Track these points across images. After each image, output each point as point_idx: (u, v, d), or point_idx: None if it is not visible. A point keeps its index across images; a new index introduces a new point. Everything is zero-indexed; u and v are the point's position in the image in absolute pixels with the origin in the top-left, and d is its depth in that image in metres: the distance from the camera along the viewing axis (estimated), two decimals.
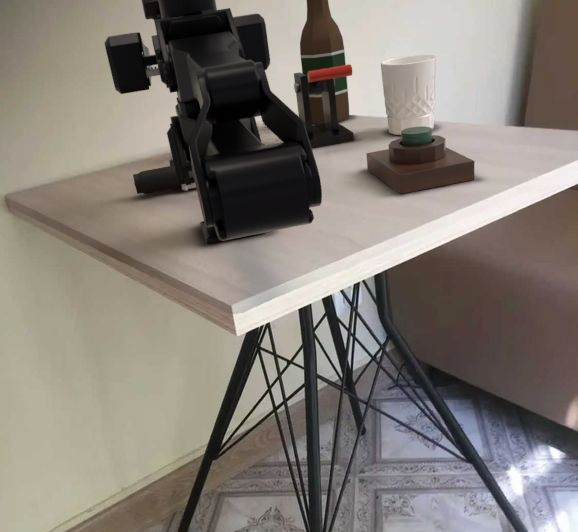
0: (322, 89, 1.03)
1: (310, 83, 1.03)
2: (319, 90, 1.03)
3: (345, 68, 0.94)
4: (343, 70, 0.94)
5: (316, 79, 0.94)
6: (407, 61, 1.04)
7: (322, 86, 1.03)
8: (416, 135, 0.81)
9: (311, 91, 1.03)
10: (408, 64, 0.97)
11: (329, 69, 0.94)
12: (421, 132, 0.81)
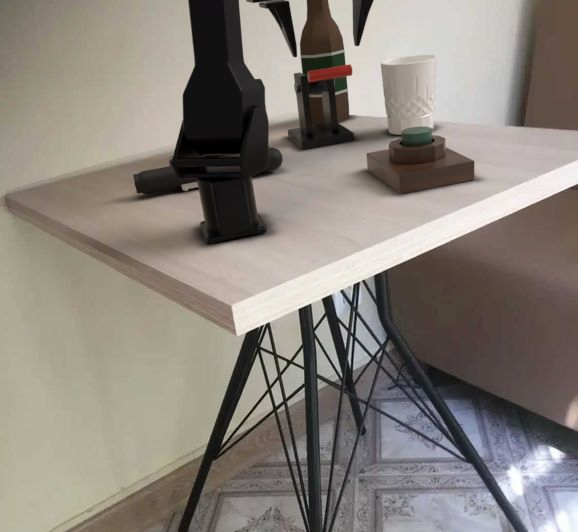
0: (322, 89, 1.03)
1: (310, 83, 1.03)
2: (319, 90, 1.03)
3: (345, 68, 0.94)
4: (343, 70, 0.94)
5: (316, 79, 0.94)
6: (407, 61, 1.04)
7: (322, 86, 1.03)
8: (416, 135, 0.81)
9: (311, 91, 1.03)
10: (408, 64, 0.97)
11: (329, 69, 0.94)
12: (421, 132, 0.81)
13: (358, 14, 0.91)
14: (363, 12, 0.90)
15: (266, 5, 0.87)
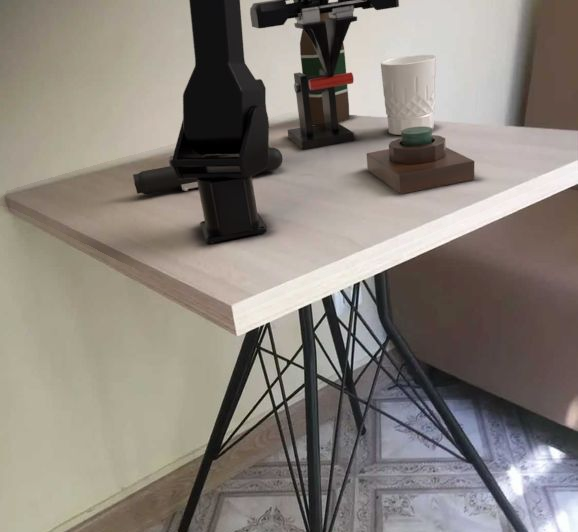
0: (322, 90, 1.03)
1: None
2: (319, 91, 1.03)
3: (346, 77, 0.95)
4: (344, 79, 0.95)
5: (317, 87, 0.94)
6: (407, 61, 1.04)
7: (322, 87, 1.03)
8: (416, 135, 0.81)
9: (311, 92, 1.03)
10: (408, 64, 0.97)
11: (330, 78, 0.94)
12: (421, 132, 0.81)
13: (332, 45, 0.92)
14: (337, 43, 0.91)
15: (303, 26, 0.89)
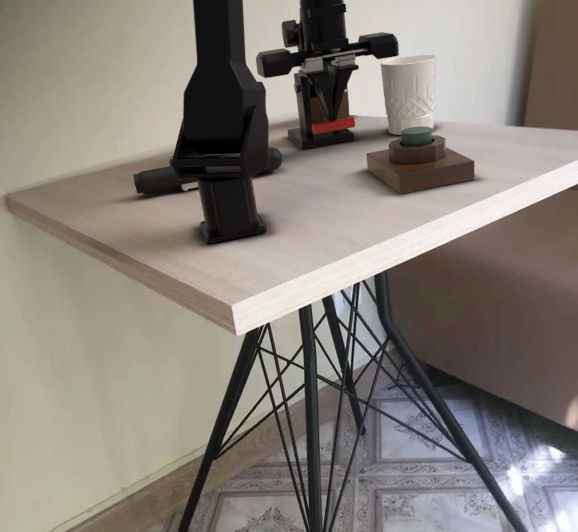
0: None
1: (311, 90, 1.03)
2: None
3: (348, 124, 0.98)
4: (346, 126, 0.99)
5: None
6: (407, 61, 1.04)
7: None
8: (416, 135, 0.81)
9: (310, 97, 1.04)
10: (408, 64, 0.97)
11: (333, 125, 0.98)
12: (421, 132, 0.81)
13: (334, 92, 0.96)
14: (340, 90, 0.95)
15: (307, 74, 0.92)
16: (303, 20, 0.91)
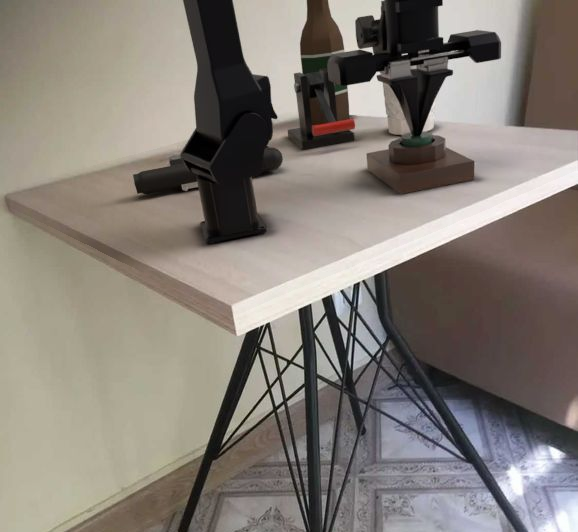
0: None
1: (311, 90, 1.03)
2: None
3: (348, 126, 0.99)
4: (346, 128, 0.99)
5: None
6: None
7: None
8: (416, 140, 0.81)
9: (310, 97, 1.04)
10: None
11: (333, 127, 0.98)
12: (421, 137, 0.81)
13: (421, 102, 0.79)
14: (428, 100, 0.79)
15: (391, 81, 0.76)
16: (389, 15, 0.75)
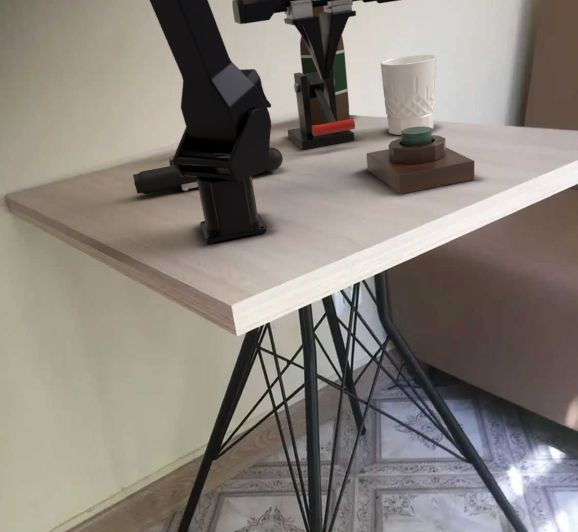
0: None
1: (311, 90, 1.03)
2: None
3: (348, 126, 0.99)
4: (346, 128, 0.99)
5: None
6: (407, 61, 1.04)
7: None
8: (416, 135, 0.81)
9: (310, 97, 1.04)
10: (408, 64, 0.97)
11: (333, 127, 0.98)
12: (421, 132, 0.81)
13: (327, 44, 0.79)
14: (333, 41, 0.78)
15: (292, 21, 0.76)
16: None
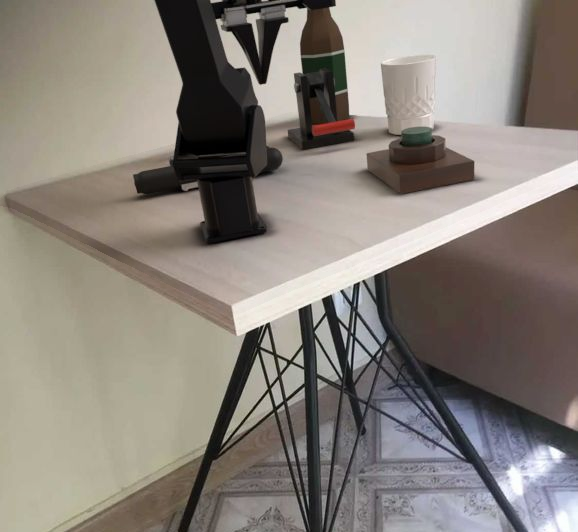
0: None
1: (311, 90, 1.03)
2: None
3: (348, 126, 0.99)
4: (346, 128, 0.99)
5: None
6: (407, 61, 1.04)
7: None
8: (416, 135, 0.81)
9: (310, 97, 1.04)
10: (408, 64, 0.97)
11: (333, 127, 0.98)
12: (421, 132, 0.81)
13: (262, 50, 0.82)
14: (267, 47, 0.81)
15: (226, 28, 0.79)
16: None
